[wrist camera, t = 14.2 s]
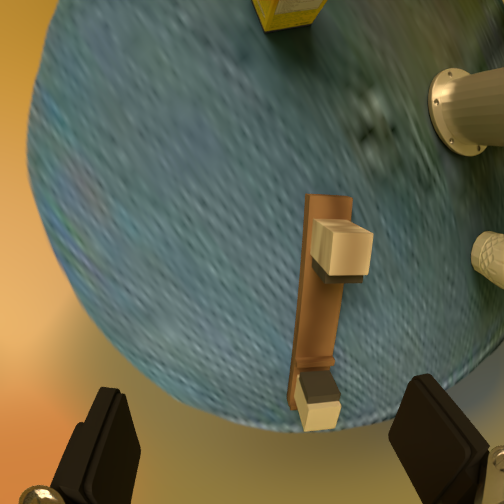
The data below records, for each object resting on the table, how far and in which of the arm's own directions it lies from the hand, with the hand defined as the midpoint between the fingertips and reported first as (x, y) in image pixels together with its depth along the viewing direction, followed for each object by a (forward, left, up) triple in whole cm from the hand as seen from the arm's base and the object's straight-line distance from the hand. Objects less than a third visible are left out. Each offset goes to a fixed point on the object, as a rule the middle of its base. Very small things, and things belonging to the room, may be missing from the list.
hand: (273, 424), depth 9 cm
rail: (-10, +10, -28) cm, 32 cm away
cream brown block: (-10, +21, -26) cm, 35 cm away
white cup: (-38, +2, -28) cm, 48 cm away
